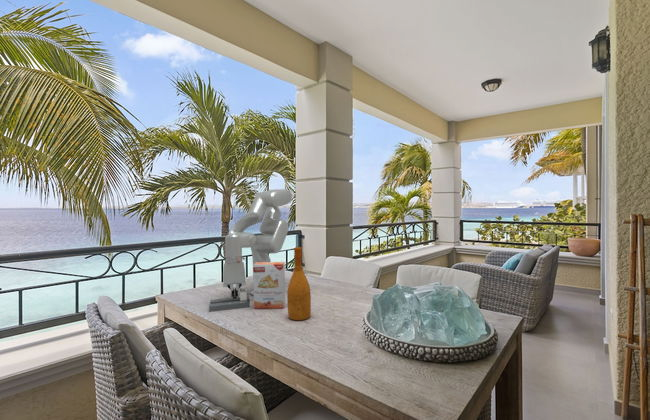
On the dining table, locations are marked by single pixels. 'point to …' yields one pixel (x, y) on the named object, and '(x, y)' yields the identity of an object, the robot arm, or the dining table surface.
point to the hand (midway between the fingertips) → (234, 297)
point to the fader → (243, 294)
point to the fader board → (228, 304)
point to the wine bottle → (298, 291)
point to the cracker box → (269, 284)
